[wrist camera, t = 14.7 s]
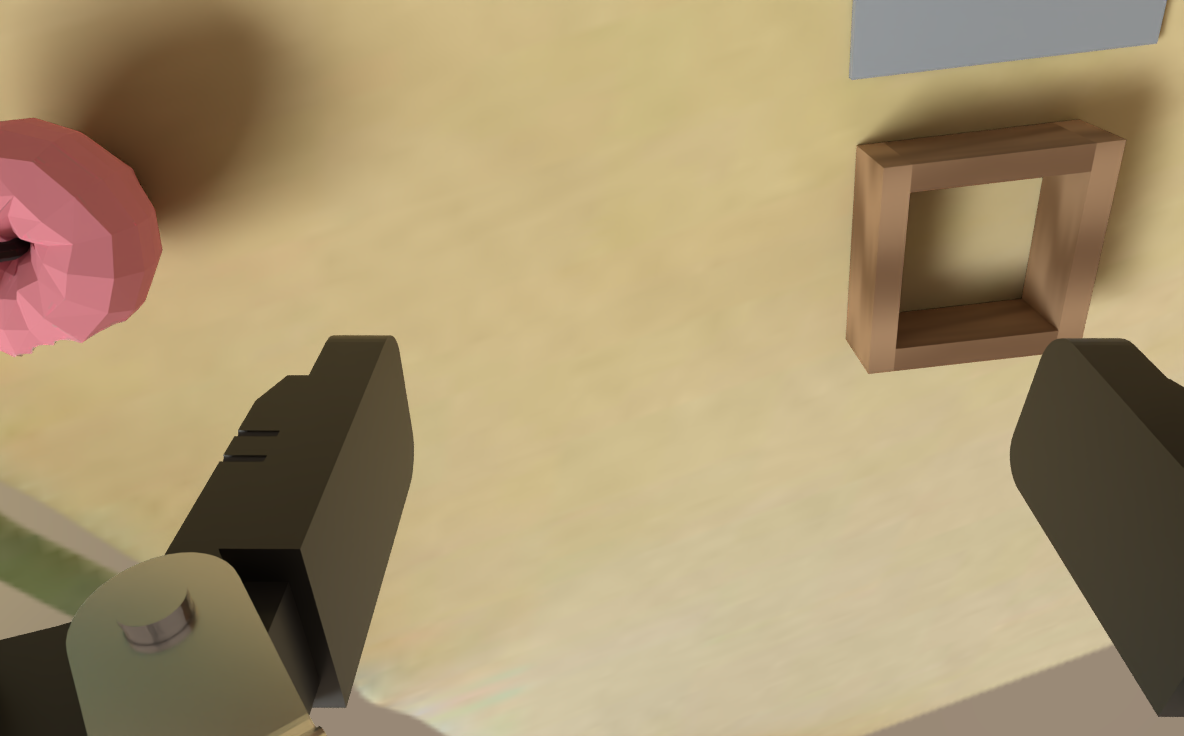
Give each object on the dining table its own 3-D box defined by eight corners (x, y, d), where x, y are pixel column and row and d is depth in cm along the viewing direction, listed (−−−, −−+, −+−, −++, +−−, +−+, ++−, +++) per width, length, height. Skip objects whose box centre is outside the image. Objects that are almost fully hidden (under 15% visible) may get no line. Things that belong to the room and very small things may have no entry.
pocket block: (856, 145, 37) (883, 168, 34) (1079, 119, 37) (1126, 139, 34) (845, 339, 42) (868, 373, 39) (1041, 317, 42) (1079, 350, 39)
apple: (50, 297, 39) (-92, 412, 31) (-57, 116, 35) (-259, 190, 26) (241, 257, 39) (151, 362, 30) (156, 67, 34) (21, 128, 26)
